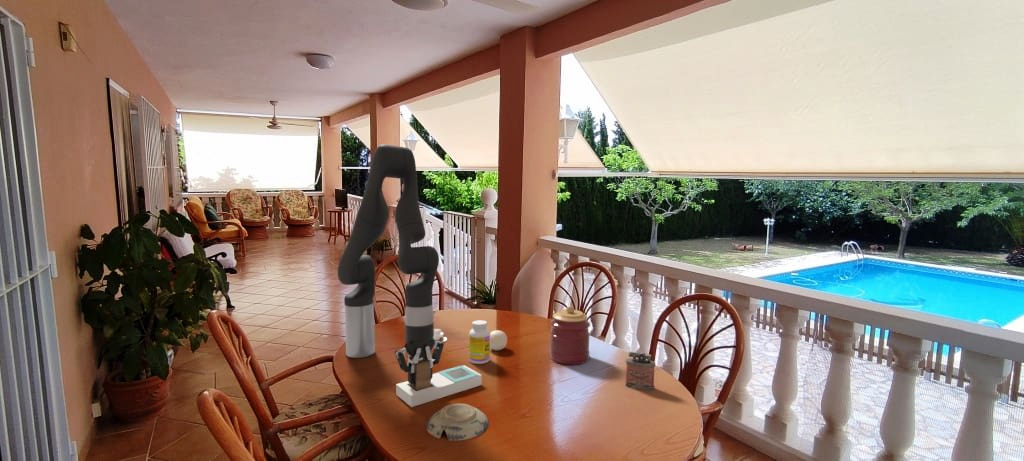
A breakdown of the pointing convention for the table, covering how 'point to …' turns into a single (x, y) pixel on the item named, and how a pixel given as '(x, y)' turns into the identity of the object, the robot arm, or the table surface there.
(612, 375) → the table surface
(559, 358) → the canister
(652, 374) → the lighter
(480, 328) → the supplement bottle
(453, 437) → the decorative bowl
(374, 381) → the table surface
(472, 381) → the socket rail
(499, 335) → the baseball
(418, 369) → the walnut peg
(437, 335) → the teacup and saucer
